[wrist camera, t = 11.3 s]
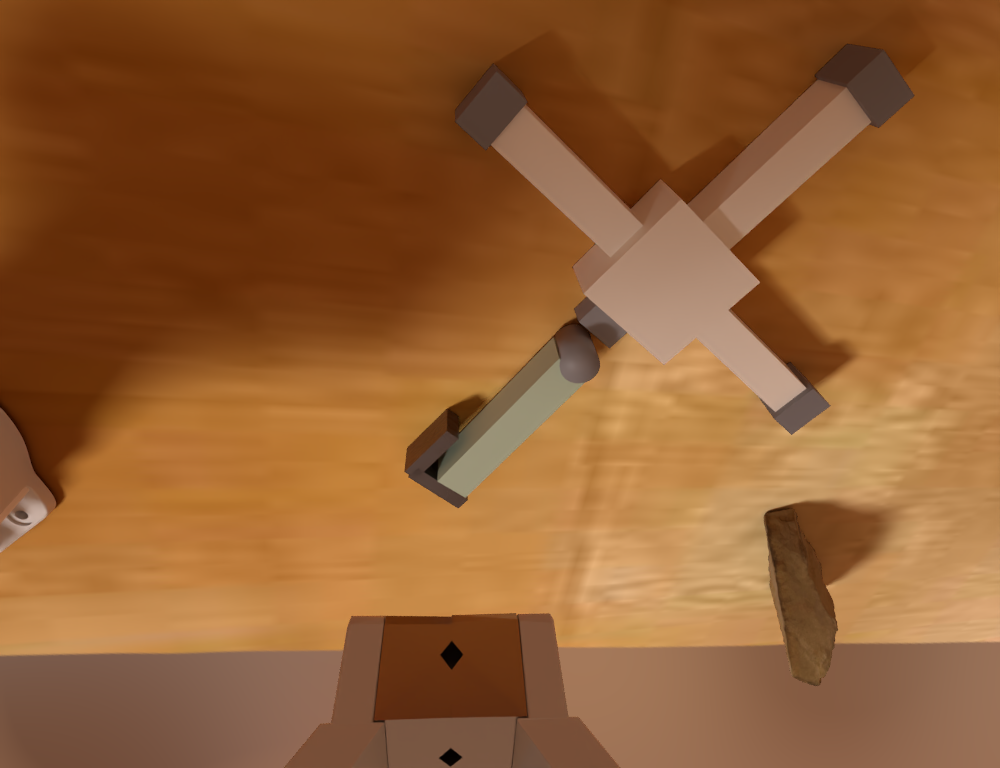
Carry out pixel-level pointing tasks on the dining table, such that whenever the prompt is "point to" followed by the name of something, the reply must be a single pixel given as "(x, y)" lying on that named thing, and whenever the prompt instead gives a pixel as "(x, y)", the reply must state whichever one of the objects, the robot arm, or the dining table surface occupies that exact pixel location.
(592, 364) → the hinged leg
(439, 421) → the leg socket
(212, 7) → the dining table surface
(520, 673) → the robot arm
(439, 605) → the dining table surface
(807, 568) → the rock
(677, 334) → the stool base
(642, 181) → the dining table surface
